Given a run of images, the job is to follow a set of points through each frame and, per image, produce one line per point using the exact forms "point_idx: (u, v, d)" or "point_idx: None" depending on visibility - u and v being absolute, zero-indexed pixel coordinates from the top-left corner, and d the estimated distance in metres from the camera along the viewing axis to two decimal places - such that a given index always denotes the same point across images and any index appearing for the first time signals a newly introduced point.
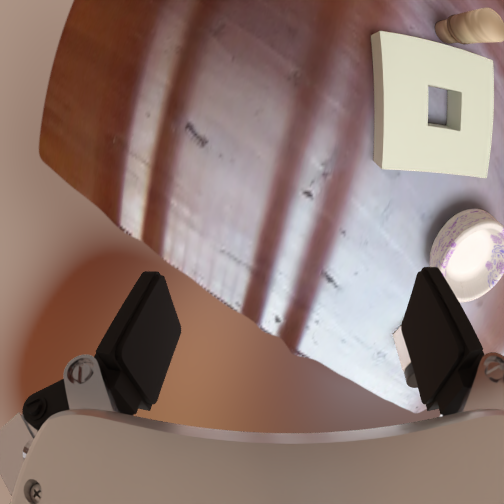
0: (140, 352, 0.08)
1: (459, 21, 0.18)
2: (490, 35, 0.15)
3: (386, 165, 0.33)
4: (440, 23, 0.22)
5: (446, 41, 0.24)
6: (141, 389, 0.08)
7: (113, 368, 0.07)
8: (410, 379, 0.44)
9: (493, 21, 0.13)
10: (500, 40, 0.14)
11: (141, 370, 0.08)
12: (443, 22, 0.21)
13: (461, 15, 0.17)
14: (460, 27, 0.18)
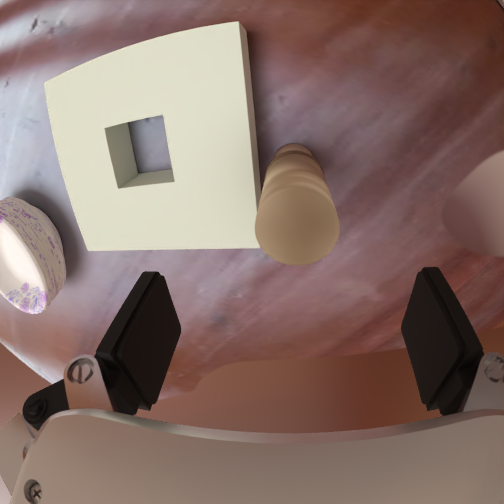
0: (140, 352, 0.08)
1: (297, 163, 0.17)
2: (261, 215, 0.14)
3: (48, 86, 0.18)
4: (303, 149, 0.22)
5: None
6: (141, 389, 0.08)
7: (113, 368, 0.07)
8: None
9: (305, 230, 0.14)
10: (262, 244, 0.15)
11: (141, 370, 0.08)
12: (304, 152, 0.21)
13: (312, 168, 0.17)
14: (284, 164, 0.17)
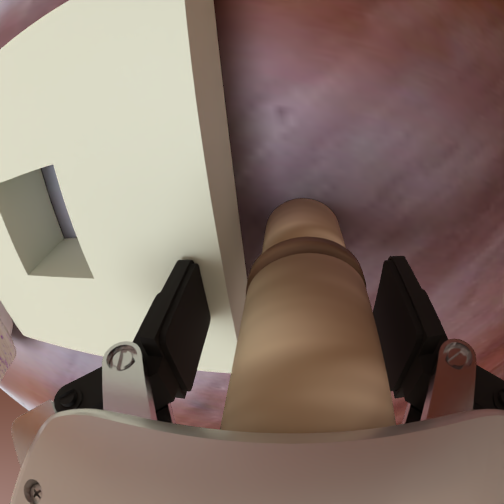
0: (180, 338, 0.08)
1: (319, 307, 0.07)
2: None
3: None
4: (323, 216, 0.12)
5: (265, 233, 0.13)
6: (180, 375, 0.08)
7: (154, 354, 0.08)
8: None
9: None
10: None
11: (180, 356, 0.08)
12: (326, 226, 0.11)
13: (355, 324, 0.06)
14: (285, 308, 0.07)
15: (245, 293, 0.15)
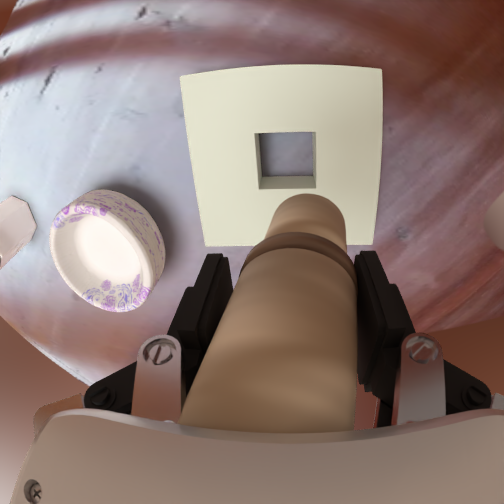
0: (215, 330, 0.09)
1: (291, 302, 0.07)
2: None
3: (185, 81, 0.22)
4: (325, 212, 0.12)
5: None
6: None
7: (192, 347, 0.08)
8: None
9: None
10: None
11: None
12: (326, 223, 0.11)
13: (325, 324, 0.07)
14: (259, 300, 0.07)
15: None
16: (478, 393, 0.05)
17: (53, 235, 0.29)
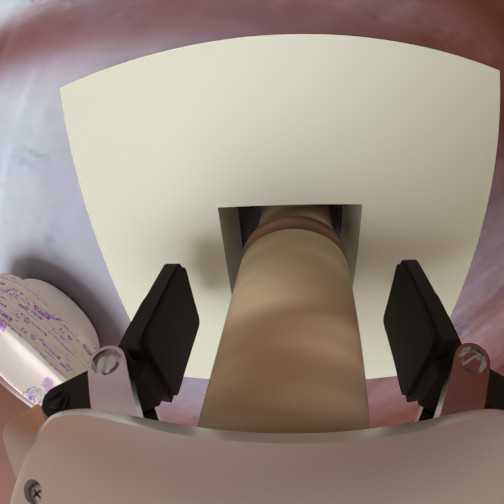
0: (165, 342, 0.08)
1: (298, 272, 0.08)
2: None
3: (69, 97, 0.09)
4: None
5: (260, 214, 0.14)
6: (165, 380, 0.08)
7: (139, 358, 0.07)
8: None
9: None
10: None
11: (165, 360, 0.08)
12: (314, 208, 0.12)
13: (330, 288, 0.08)
14: (269, 272, 0.08)
15: None
16: None
17: None
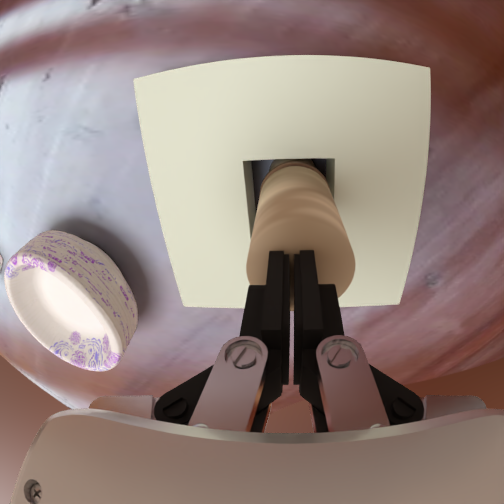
0: None
1: (300, 179, 0.14)
2: (255, 253, 0.11)
3: (141, 86, 0.15)
4: (305, 159, 0.19)
5: None
6: (287, 368, 0.08)
7: (272, 347, 0.07)
8: None
9: None
10: None
11: None
12: (306, 162, 0.18)
13: (319, 186, 0.13)
14: (283, 180, 0.14)
15: None
16: (405, 405, 0.05)
17: (8, 285, 0.21)
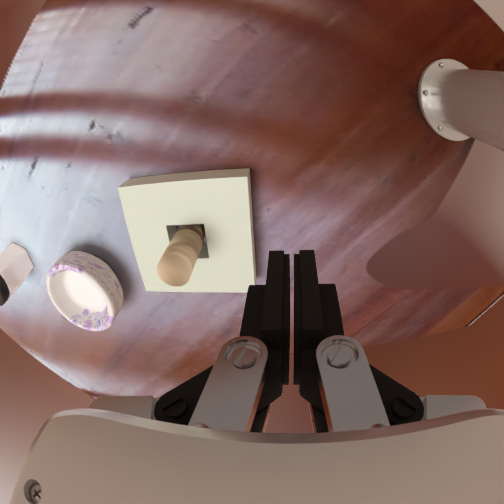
0: None
1: (181, 237, 0.36)
2: (158, 266, 0.33)
3: (121, 191, 0.37)
4: None
5: None
6: (287, 368, 0.08)
7: (272, 347, 0.07)
8: None
9: (176, 272, 0.33)
10: (160, 277, 0.34)
11: None
12: None
13: (187, 240, 0.36)
14: (175, 238, 0.36)
15: None
16: (405, 405, 0.05)
17: (48, 280, 0.42)
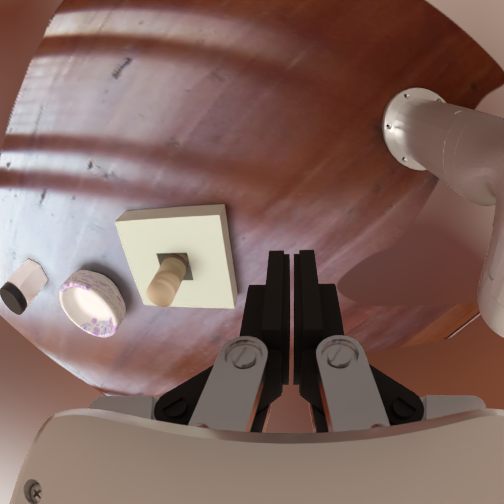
0: None
1: (167, 265, 0.43)
2: (147, 291, 0.40)
3: (118, 224, 0.44)
4: None
5: None
6: (287, 368, 0.08)
7: (272, 347, 0.07)
8: (3, 290, 0.47)
9: (161, 296, 0.40)
10: (150, 299, 0.41)
11: None
12: None
13: (172, 268, 0.43)
14: (162, 266, 0.43)
15: (235, 284, 0.52)
16: (405, 406, 0.05)
17: (61, 295, 0.51)
